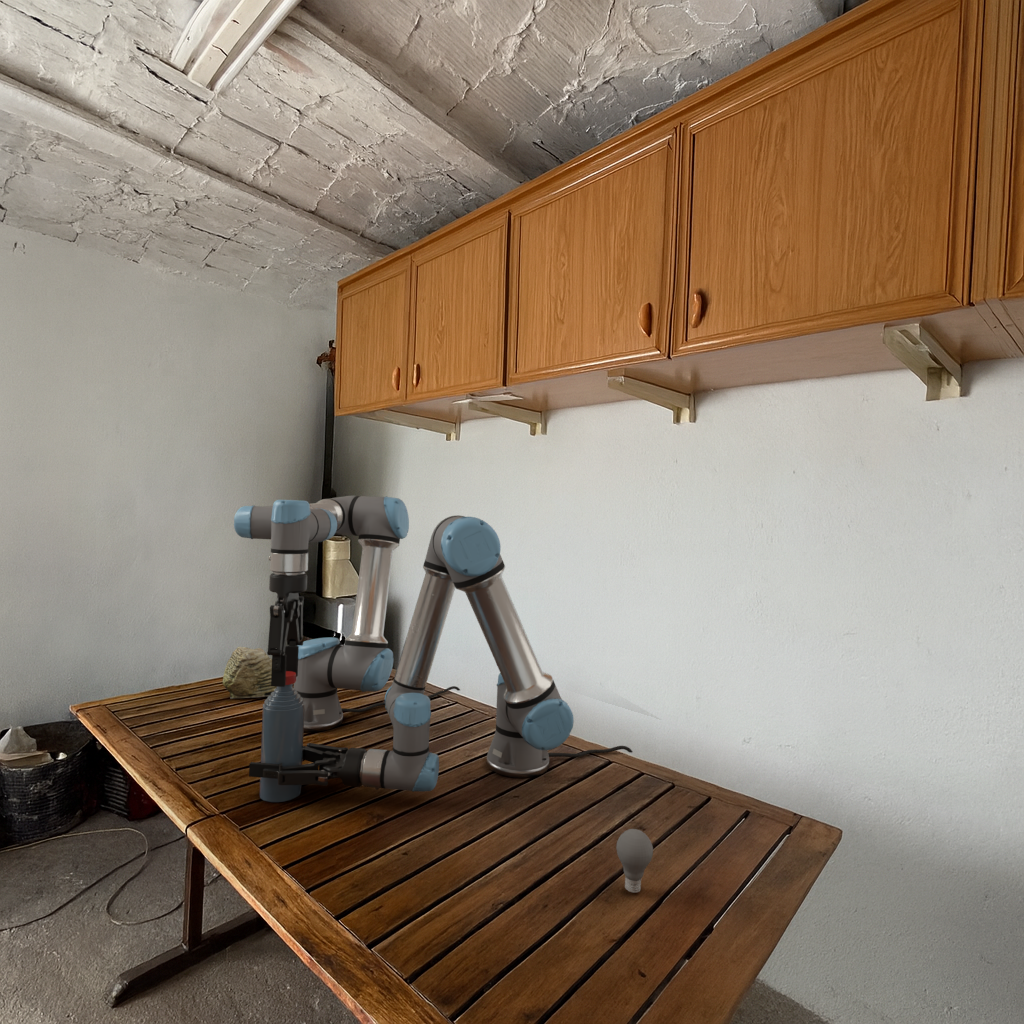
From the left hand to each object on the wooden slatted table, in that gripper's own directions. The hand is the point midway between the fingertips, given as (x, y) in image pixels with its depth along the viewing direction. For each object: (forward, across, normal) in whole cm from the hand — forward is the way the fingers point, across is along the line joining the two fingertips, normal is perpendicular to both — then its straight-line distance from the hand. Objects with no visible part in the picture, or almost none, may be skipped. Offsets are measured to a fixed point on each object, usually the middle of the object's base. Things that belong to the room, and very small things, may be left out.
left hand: (284, 680), depth 134 cm
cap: (-1, 0, 0) cm, 1 cm away
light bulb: (+24, +29, +70) cm, 79 cm away
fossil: (+24, -63, -32) cm, 75 cm away
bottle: (+24, 0, 0) cm, 24 cm away
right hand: (+17, 0, -5) cm, 18 cm away
